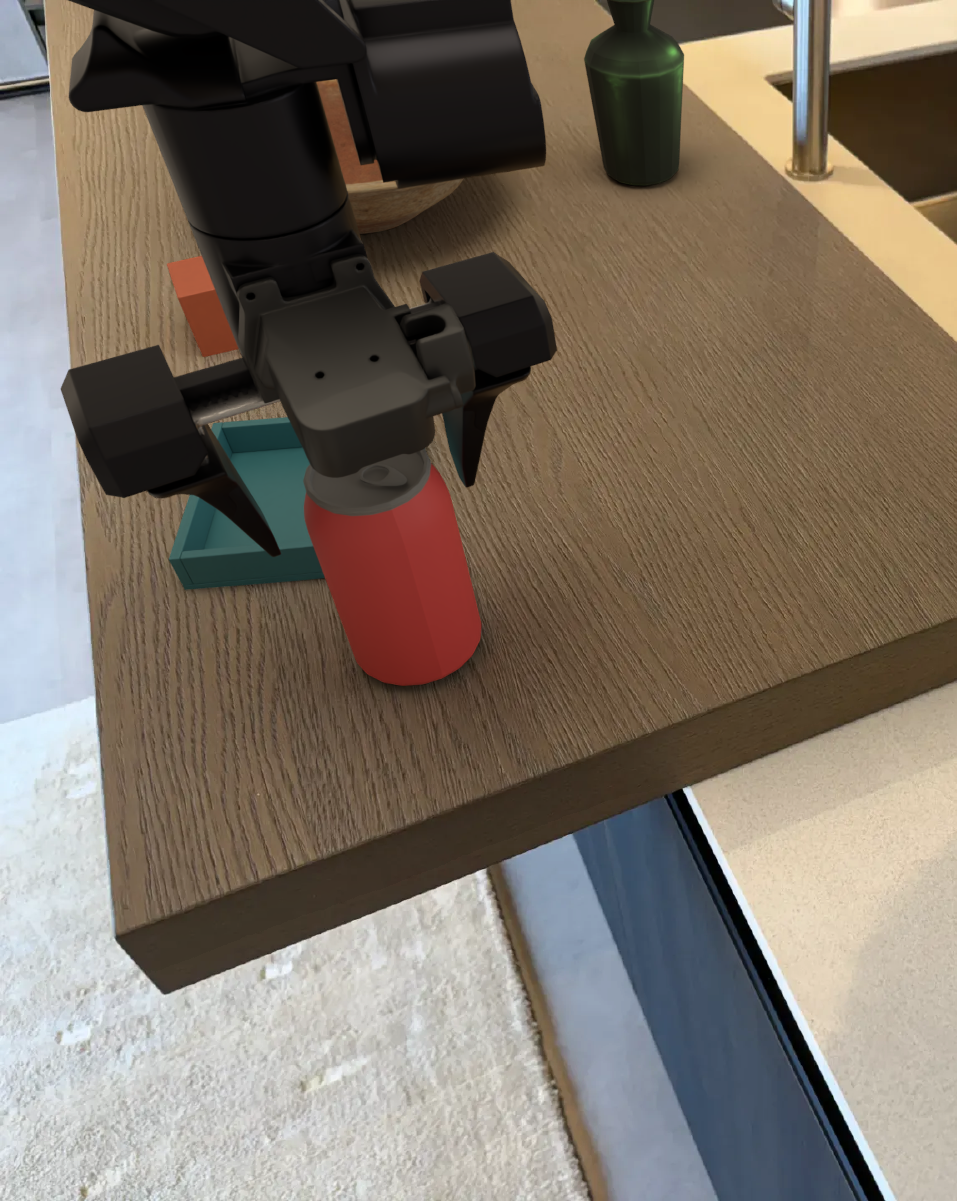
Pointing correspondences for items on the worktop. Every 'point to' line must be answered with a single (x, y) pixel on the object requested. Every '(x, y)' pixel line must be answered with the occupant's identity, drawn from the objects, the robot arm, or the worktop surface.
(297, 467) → the tray
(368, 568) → the beer can
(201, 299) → the terracotta block
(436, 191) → the bowl
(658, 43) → the potion bottle
